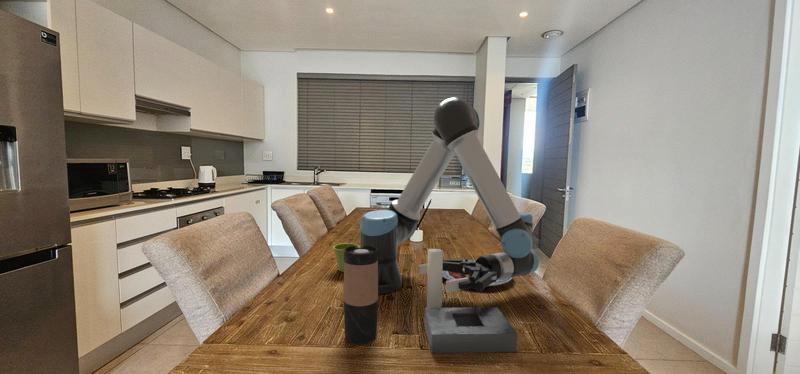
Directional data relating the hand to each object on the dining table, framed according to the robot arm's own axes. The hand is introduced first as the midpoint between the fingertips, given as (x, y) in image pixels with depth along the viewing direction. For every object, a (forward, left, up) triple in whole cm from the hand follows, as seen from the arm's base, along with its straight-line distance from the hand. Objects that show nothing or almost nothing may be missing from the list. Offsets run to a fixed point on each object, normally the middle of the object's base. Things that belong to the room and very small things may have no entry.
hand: (431, 277), depth 84 cm
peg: (0, +1, -9) cm, 9 cm away
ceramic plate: (+2, +31, -9) cm, 33 cm away
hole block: (+12, -8, -9) cm, 17 cm away
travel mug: (-9, -20, -9) cm, 23 cm away
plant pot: (-40, +13, -9) cm, 43 cm away
